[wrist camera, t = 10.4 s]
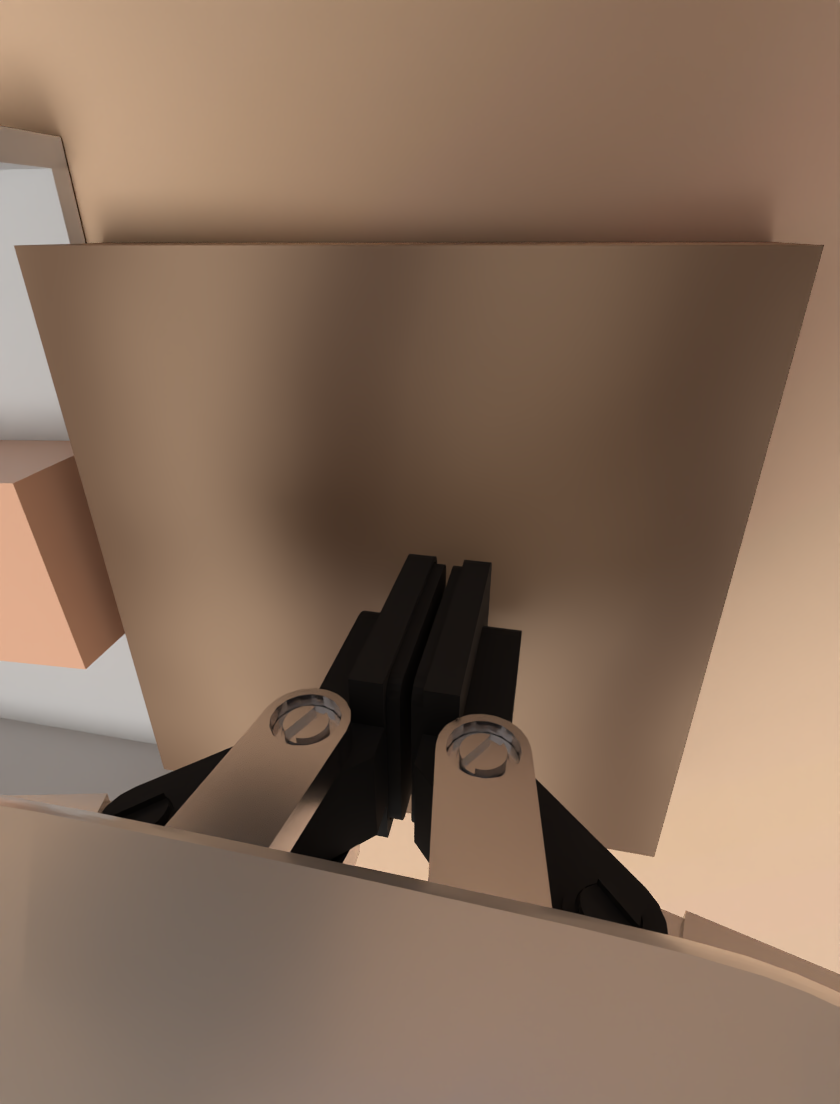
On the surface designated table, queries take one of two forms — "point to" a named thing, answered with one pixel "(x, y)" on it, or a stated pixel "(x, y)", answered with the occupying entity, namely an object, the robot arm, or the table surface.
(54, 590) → the tile
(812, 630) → the table surface
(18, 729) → the tray
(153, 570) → the board
